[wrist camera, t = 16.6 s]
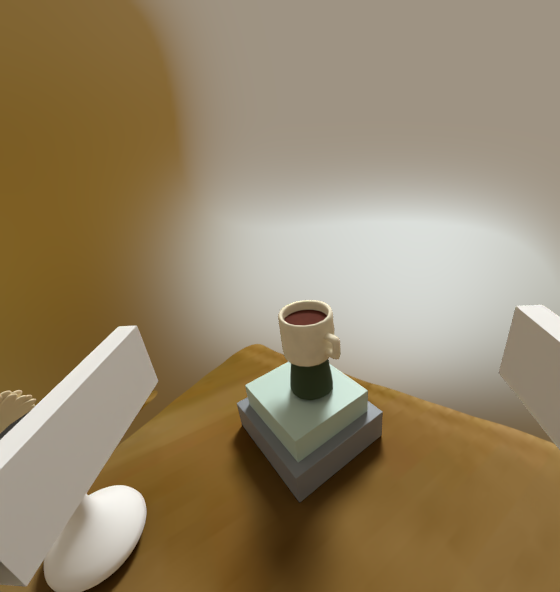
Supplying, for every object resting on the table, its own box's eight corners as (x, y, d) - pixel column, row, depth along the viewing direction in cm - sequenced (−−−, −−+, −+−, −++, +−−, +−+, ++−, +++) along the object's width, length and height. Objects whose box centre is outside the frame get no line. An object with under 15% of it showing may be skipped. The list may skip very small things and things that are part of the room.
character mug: (357, 392, 43) (356, 313, 38) (324, 423, 39) (318, 340, 34) (302, 361, 51) (295, 291, 45) (270, 384, 47) (257, 310, 41)
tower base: (314, 381, 59) (310, 343, 55) (381, 435, 47) (383, 391, 43) (242, 424, 52) (232, 384, 48) (299, 502, 40) (292, 457, 36)
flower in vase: (151, 481, 45) (83, 340, 34) (148, 571, 35) (50, 415, 24) (51, 519, 41) (-61, 378, 30) (17, 631, 32) (-167, 482, 21)
